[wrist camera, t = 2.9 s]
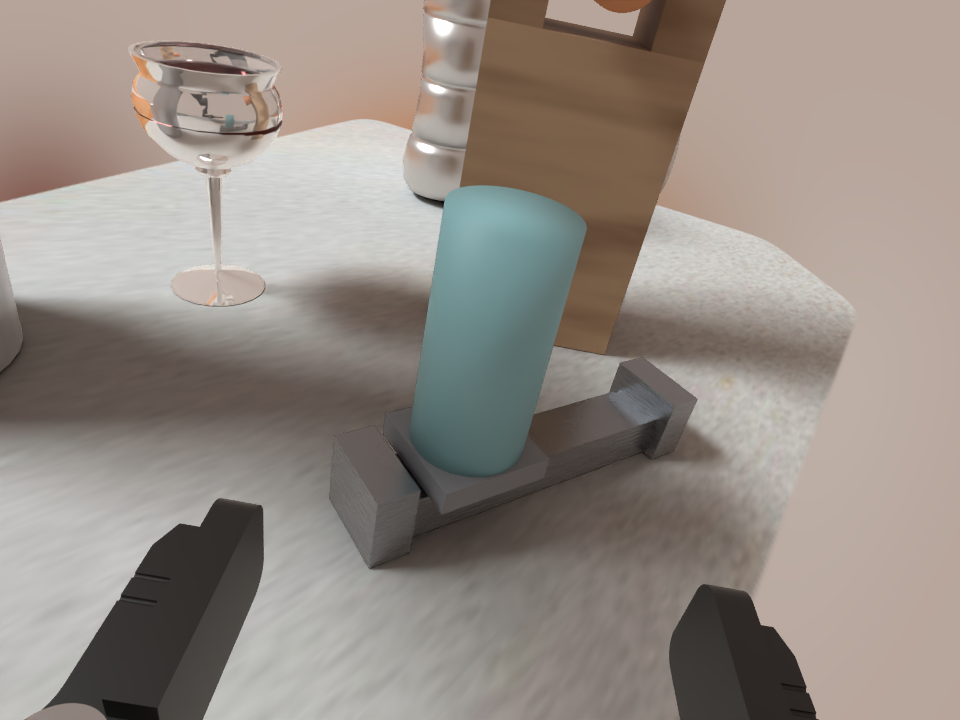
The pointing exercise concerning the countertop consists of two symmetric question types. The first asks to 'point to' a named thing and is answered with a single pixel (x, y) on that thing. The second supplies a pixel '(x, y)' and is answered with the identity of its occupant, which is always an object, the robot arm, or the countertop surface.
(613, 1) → the plunger
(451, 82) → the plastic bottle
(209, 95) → the wineglass
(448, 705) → the countertop surface
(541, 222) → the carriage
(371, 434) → the rail
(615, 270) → the wooden window block
